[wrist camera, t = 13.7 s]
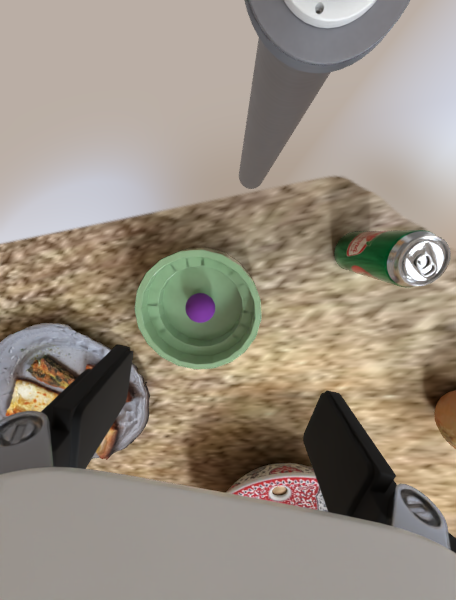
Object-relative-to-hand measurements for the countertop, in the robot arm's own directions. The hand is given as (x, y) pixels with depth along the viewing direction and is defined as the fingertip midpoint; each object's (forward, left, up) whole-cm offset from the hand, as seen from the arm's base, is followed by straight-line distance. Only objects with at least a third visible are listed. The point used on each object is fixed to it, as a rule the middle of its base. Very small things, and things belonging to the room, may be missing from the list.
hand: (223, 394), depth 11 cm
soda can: (-9, +15, -22) cm, 28 cm away
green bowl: (+3, -3, -22) cm, 23 cm away
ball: (+3, -3, -20) cm, 20 cm away
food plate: (+23, -20, -22) cm, 38 cm away
